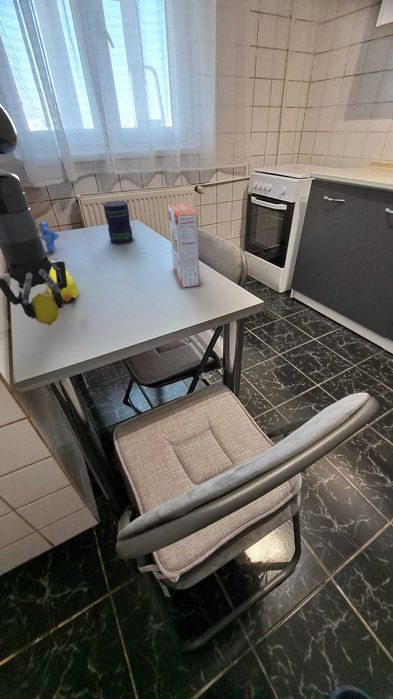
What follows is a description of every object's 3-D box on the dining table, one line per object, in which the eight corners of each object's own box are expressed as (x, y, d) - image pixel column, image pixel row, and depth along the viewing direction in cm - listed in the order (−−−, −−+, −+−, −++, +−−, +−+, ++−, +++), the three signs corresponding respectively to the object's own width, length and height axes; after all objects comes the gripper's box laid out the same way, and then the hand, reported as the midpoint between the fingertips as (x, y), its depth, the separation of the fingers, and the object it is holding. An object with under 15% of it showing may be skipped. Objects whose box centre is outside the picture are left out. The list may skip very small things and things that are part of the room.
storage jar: (137, 238, 131) (132, 201, 122) (125, 245, 124) (118, 206, 115) (118, 236, 134) (112, 200, 125) (105, 243, 127) (97, 205, 118)
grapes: (64, 254, 116) (54, 222, 109) (46, 257, 114) (35, 224, 107) (62, 246, 125) (53, 215, 118) (45, 248, 123) (35, 217, 116)
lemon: (57, 330, 67) (46, 299, 62) (33, 331, 67) (20, 299, 62) (66, 318, 71) (56, 288, 67) (44, 318, 72) (32, 288, 67)
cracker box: (172, 271, 100) (167, 204, 87) (189, 269, 101) (186, 202, 88) (180, 288, 89) (176, 214, 76) (200, 286, 90) (198, 212, 77)
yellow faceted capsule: (70, 279, 97) (45, 284, 94) (64, 259, 92) (37, 264, 89) (83, 301, 84) (54, 308, 81) (76, 279, 80) (46, 285, 77)
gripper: (46, 225, 63) (68, 296, 73) (-30, 240, 55) (7, 318, 65) (62, 231, 59) (83, 306, 69) (-17, 248, 51) (20, 330, 61)
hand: (46, 311), depth 67 cm, fingers closed on lemon, 5 cm apart
